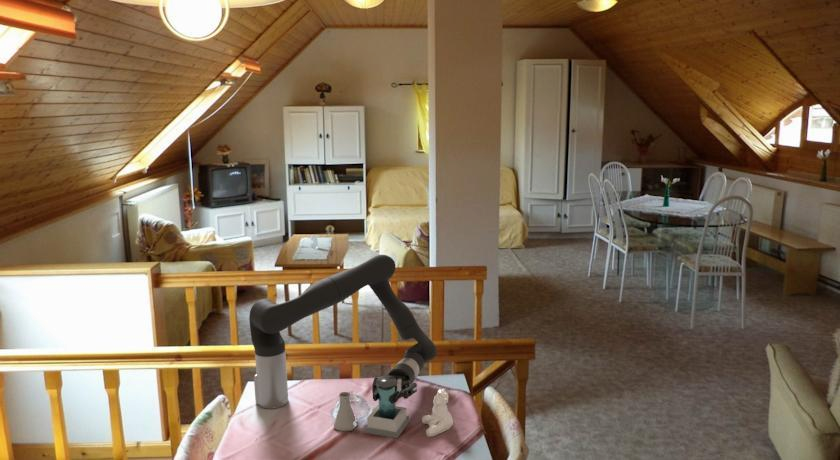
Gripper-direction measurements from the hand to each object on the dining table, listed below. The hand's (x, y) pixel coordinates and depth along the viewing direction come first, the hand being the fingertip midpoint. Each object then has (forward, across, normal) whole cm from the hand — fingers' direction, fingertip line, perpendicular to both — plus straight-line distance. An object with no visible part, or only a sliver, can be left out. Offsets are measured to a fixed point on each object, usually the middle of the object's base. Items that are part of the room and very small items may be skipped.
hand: (383, 399), depth 179 cm
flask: (0, -12, +10) cm, 16 cm away
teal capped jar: (-3, 0, +7) cm, 8 cm away
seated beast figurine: (-7, +14, +10) cm, 19 cm away
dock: (-3, 0, +10) cm, 10 cm away
